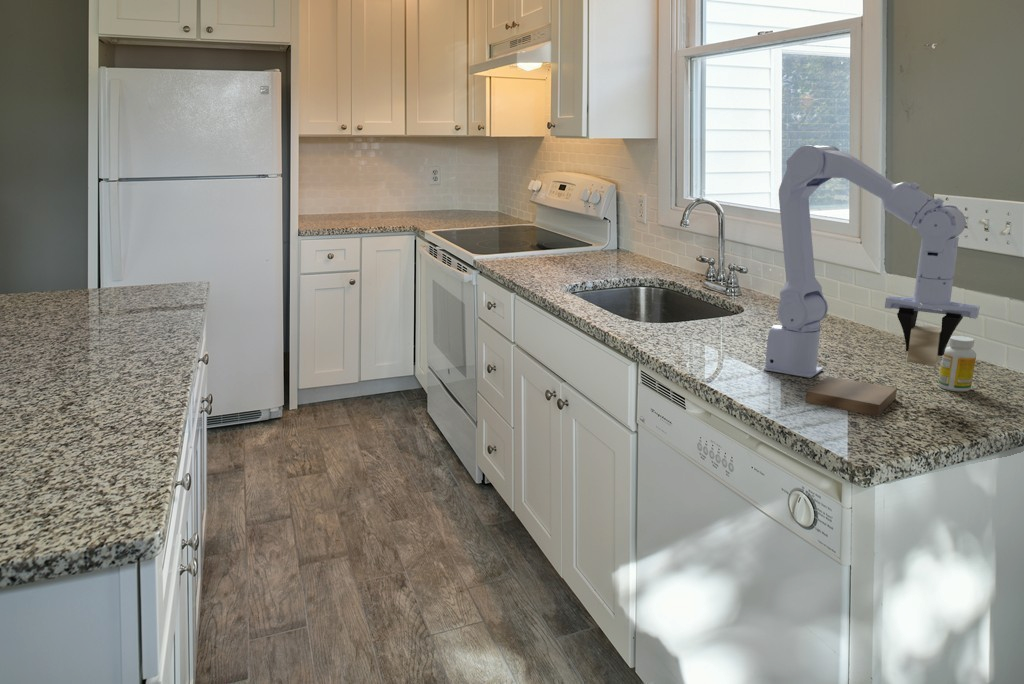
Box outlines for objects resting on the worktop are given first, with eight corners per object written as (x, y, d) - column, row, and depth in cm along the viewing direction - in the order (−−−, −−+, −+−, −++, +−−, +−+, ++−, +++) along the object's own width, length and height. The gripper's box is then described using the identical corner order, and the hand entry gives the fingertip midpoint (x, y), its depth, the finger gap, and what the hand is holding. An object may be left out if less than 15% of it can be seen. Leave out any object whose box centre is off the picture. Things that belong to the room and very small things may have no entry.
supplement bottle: (934, 388, 146) (941, 338, 143) (942, 382, 149) (949, 333, 147) (966, 394, 142) (974, 343, 140) (974, 387, 146) (981, 338, 144)
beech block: (906, 361, 139) (911, 329, 137) (912, 356, 142) (916, 324, 141) (934, 366, 136) (939, 332, 134) (940, 360, 139) (944, 328, 138)
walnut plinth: (805, 402, 137) (806, 391, 137) (826, 386, 147) (827, 376, 146) (877, 416, 130) (879, 404, 130) (895, 398, 139) (897, 388, 139)
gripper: (884, 275, 137) (875, 350, 140) (978, 284, 128) (967, 363, 131) (894, 270, 142) (885, 342, 145) (985, 278, 133) (974, 355, 137)
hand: (924, 352), depth 139 cm, fingers closed on beech block, 4 cm apart
